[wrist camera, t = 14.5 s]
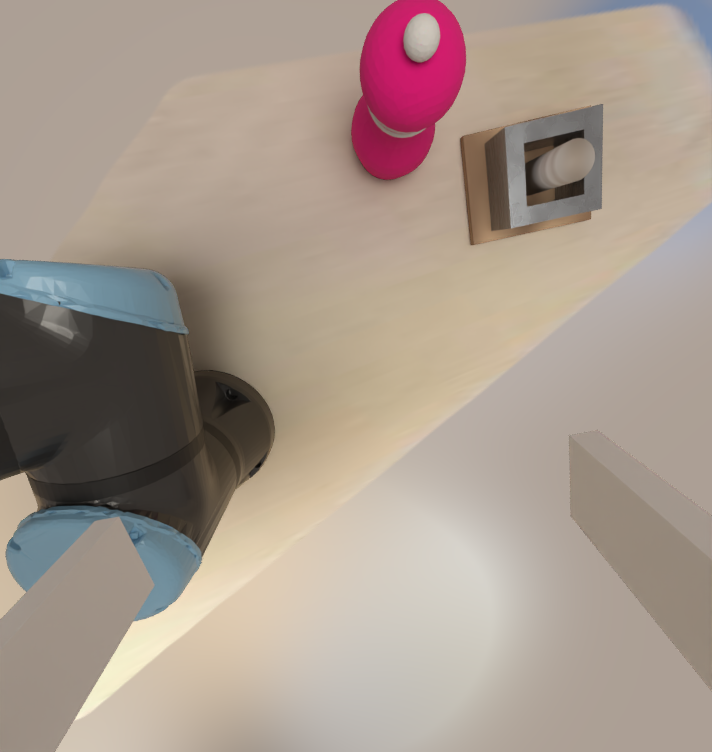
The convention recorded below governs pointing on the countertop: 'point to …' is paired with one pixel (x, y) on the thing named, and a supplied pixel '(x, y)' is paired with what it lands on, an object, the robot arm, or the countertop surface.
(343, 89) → the countertop surface
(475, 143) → the peg on square base
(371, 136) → the pepper mill
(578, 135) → the grey square ring block
